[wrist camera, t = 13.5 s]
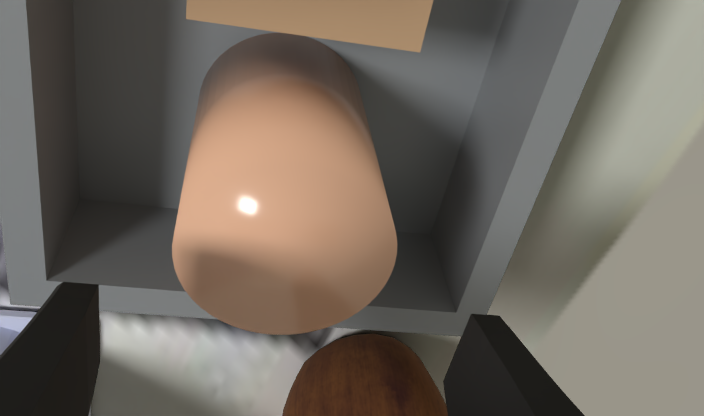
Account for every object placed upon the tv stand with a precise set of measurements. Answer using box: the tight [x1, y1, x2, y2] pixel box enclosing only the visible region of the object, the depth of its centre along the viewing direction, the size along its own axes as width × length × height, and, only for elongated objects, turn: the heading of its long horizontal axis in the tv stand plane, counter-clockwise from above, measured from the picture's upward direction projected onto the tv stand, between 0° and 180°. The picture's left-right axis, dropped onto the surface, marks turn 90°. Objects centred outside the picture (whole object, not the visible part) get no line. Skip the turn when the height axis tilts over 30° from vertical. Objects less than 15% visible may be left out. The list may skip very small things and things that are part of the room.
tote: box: [0, 0, 621, 336], centre depth 17 cm, size 18×14×5 cm
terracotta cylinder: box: [172, 33, 397, 335], centre depth 18 cm, size 5×5×7 cm
